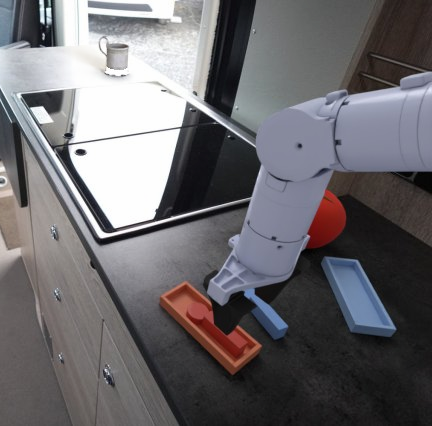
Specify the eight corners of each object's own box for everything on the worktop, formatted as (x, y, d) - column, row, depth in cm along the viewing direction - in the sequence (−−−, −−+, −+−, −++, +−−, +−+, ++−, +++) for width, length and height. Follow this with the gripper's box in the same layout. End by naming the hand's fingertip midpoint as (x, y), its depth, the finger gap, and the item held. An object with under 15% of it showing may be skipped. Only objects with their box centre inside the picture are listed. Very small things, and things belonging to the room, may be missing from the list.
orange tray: (258, 353, 48) (262, 345, 47) (232, 375, 46) (235, 367, 45) (184, 288, 57) (186, 280, 56) (158, 303, 54) (160, 296, 53)
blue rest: (390, 337, 51) (396, 329, 50) (350, 332, 51) (355, 324, 50) (353, 267, 62) (357, 259, 60) (320, 263, 62) (324, 256, 61)
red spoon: (247, 349, 48) (251, 339, 47) (232, 361, 47) (236, 351, 45) (196, 304, 54) (198, 293, 53) (181, 313, 52) (183, 303, 51)
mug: (134, 72, 144) (136, 39, 137) (117, 78, 139) (119, 43, 131) (107, 65, 152) (107, 32, 145) (90, 69, 146) (89, 36, 139)
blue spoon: (287, 335, 51) (293, 325, 49) (270, 341, 50) (274, 331, 48) (246, 287, 57) (249, 277, 56) (230, 292, 56) (233, 282, 55)
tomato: (276, 210, 74) (293, 163, 67) (341, 240, 67) (366, 191, 61) (248, 235, 67) (263, 186, 61) (316, 271, 61) (341, 220, 54)
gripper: (283, 183, 42) (253, 268, 51) (194, 228, 35) (176, 319, 44) (344, 213, 38) (300, 301, 46) (256, 273, 31) (223, 364, 39)
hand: (243, 312), depth 45 cm, fingers open, 7 cm apart
